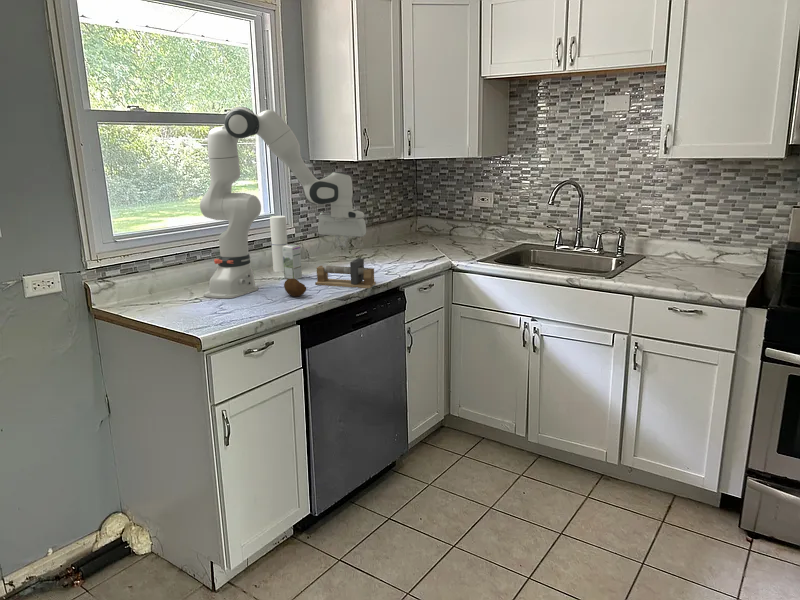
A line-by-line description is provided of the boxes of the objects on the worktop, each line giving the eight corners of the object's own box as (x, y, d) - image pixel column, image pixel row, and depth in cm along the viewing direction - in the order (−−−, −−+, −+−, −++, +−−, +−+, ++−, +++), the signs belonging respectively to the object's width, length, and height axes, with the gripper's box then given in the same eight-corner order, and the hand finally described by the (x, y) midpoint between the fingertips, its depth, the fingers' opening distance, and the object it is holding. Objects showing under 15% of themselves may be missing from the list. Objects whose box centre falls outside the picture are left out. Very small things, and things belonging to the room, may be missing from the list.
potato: (298, 300, 230) (297, 282, 229) (277, 295, 237) (276, 278, 235) (311, 296, 236) (310, 278, 234) (290, 292, 242) (289, 275, 241)
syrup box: (302, 277, 268) (300, 245, 264) (293, 280, 263) (291, 247, 259) (292, 276, 270) (290, 244, 267) (283, 278, 266) (281, 246, 262)
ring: (356, 284, 247) (355, 262, 245) (350, 283, 248) (350, 262, 246) (364, 279, 256) (363, 258, 253) (359, 279, 256) (358, 258, 254)
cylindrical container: (270, 271, 281) (266, 217, 274) (279, 268, 287) (276, 215, 281) (282, 272, 278) (278, 218, 271) (292, 269, 284) (288, 216, 277)
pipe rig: (369, 288, 247) (368, 270, 245) (315, 284, 254) (314, 267, 252) (375, 283, 254) (375, 266, 252) (323, 280, 261) (322, 263, 259)
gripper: (315, 212, 247) (315, 246, 250) (361, 214, 241) (361, 248, 243) (321, 211, 253) (322, 244, 256) (367, 213, 246) (367, 247, 249)
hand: (341, 246), depth 249 cm, fingers closed
